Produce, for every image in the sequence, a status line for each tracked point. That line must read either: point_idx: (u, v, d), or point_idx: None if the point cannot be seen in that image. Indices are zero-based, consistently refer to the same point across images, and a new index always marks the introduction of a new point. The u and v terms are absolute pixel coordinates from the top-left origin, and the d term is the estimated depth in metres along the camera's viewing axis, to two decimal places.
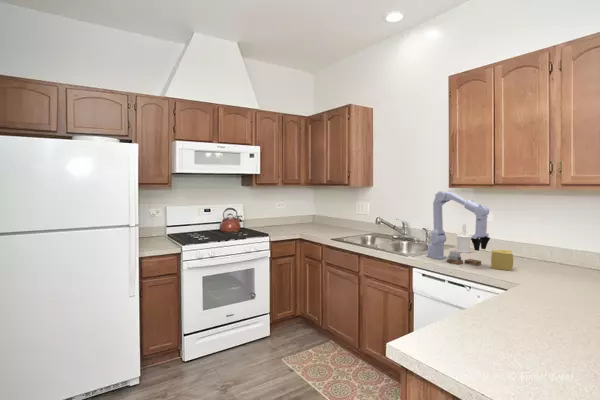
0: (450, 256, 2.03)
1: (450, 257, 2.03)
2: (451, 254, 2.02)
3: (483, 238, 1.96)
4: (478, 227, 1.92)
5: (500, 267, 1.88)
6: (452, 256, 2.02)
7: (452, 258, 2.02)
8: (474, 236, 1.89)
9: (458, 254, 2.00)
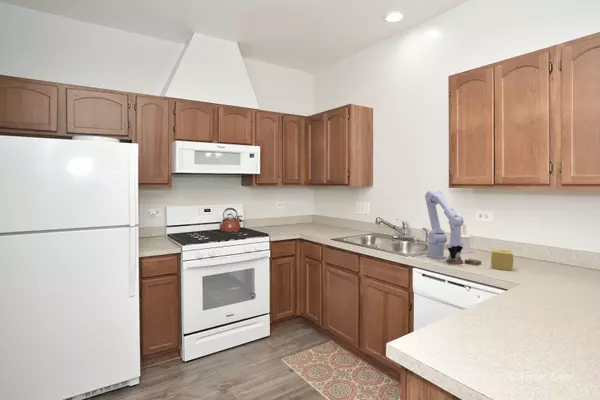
0: (450, 256, 2.03)
1: (450, 257, 2.03)
2: None
3: (456, 247, 2.03)
4: (452, 237, 2.00)
5: (500, 267, 1.88)
6: None
7: None
8: (448, 245, 1.98)
9: (458, 254, 2.00)
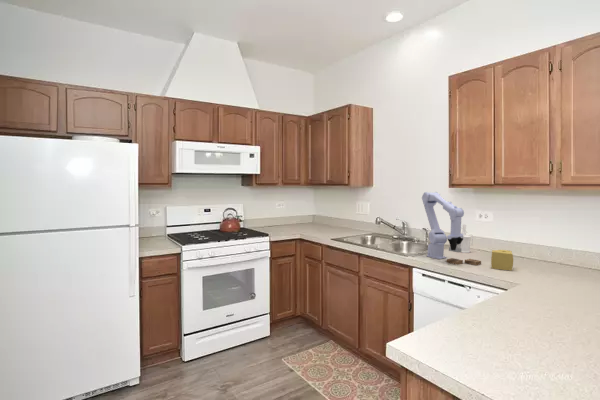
0: (450, 248, 2.02)
1: (450, 249, 2.02)
2: None
3: (456, 239, 2.03)
4: (453, 228, 2.00)
5: (500, 267, 1.88)
6: None
7: (452, 250, 2.01)
8: (448, 237, 1.97)
9: (458, 246, 2.00)
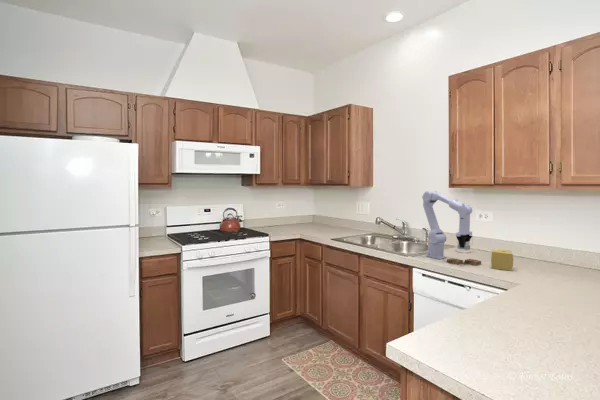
0: (459, 245, 2.02)
1: (459, 246, 2.02)
2: None
3: (465, 236, 2.02)
4: (461, 225, 1.99)
5: (500, 267, 1.88)
6: None
7: None
8: (457, 234, 1.97)
9: (467, 243, 1.99)
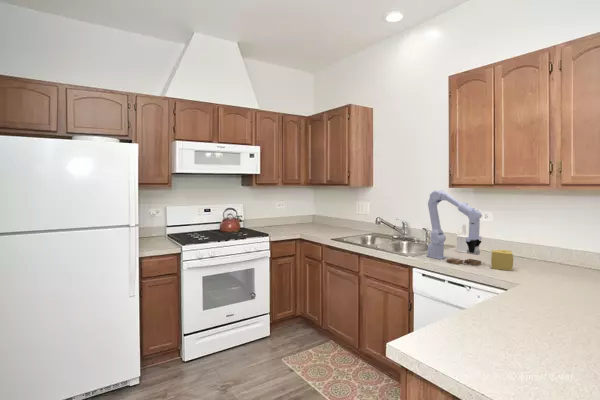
0: None
1: None
2: None
3: (475, 241, 2.02)
4: (471, 230, 1.99)
5: (500, 267, 1.88)
6: None
7: None
8: (467, 239, 1.96)
9: (477, 248, 1.99)
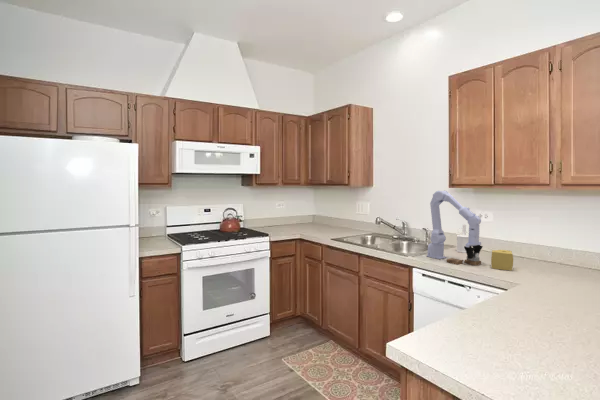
0: None
1: (468, 258, 2.01)
2: None
3: (476, 246, 2.03)
4: (471, 236, 1.99)
5: (500, 267, 1.88)
6: None
7: (470, 259, 2.00)
8: (467, 245, 1.96)
9: (477, 255, 1.99)
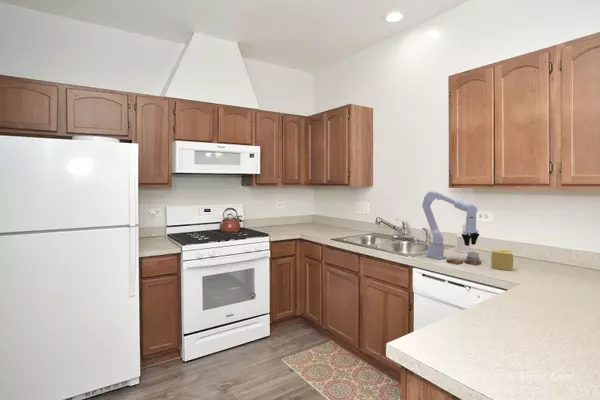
0: (468, 257, 2.01)
1: (468, 258, 2.01)
2: (469, 255, 2.01)
3: (473, 234, 2.11)
4: (468, 224, 2.07)
5: (500, 267, 1.88)
6: (470, 257, 2.00)
7: (470, 259, 2.00)
8: (464, 232, 2.04)
9: (477, 255, 1.99)
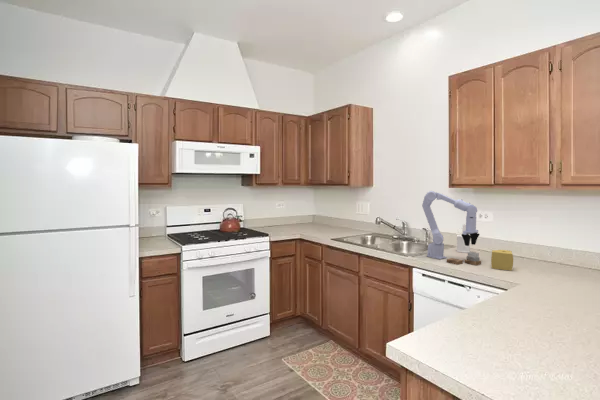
0: (468, 257, 2.01)
1: (468, 258, 2.01)
2: (469, 255, 2.01)
3: (473, 234, 2.11)
4: (468, 224, 2.07)
5: (500, 267, 1.88)
6: (470, 257, 2.00)
7: (470, 259, 2.00)
8: (464, 232, 2.04)
9: (477, 255, 1.99)
